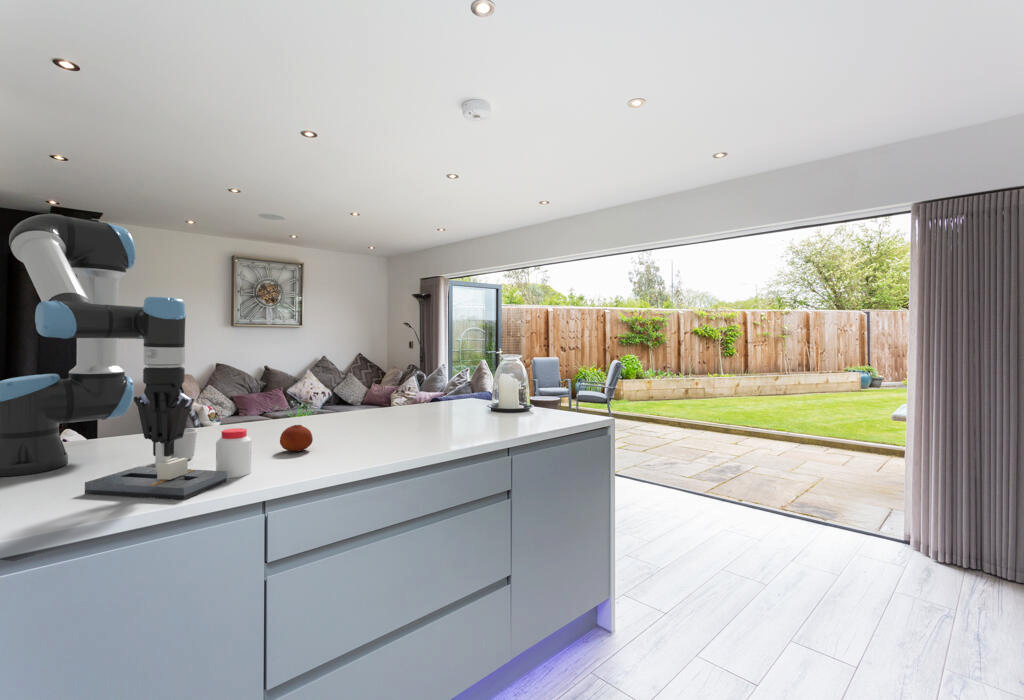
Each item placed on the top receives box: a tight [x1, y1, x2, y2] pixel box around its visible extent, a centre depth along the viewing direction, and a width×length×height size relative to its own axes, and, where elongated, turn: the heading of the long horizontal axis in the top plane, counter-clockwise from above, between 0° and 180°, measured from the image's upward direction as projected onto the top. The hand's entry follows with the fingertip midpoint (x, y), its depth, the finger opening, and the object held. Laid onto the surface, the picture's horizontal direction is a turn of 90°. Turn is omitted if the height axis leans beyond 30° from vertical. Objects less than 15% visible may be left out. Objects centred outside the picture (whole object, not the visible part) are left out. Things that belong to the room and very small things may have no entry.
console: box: [84, 466, 228, 501], centre depth 107 cm, size 23×13×3 cm, turn 84°
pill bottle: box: [215, 427, 253, 479], centre depth 119 cm, size 8×8×11 cm
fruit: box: [279, 424, 314, 453], centre depth 144 cm, size 9×9×8 cm
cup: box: [171, 428, 198, 461], centre depth 129 cm, size 11×8×8 cm
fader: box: [157, 458, 189, 480], centre depth 107 cm, size 4×5×5 cm
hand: (163, 470), depth 107 cm, fingers closed
